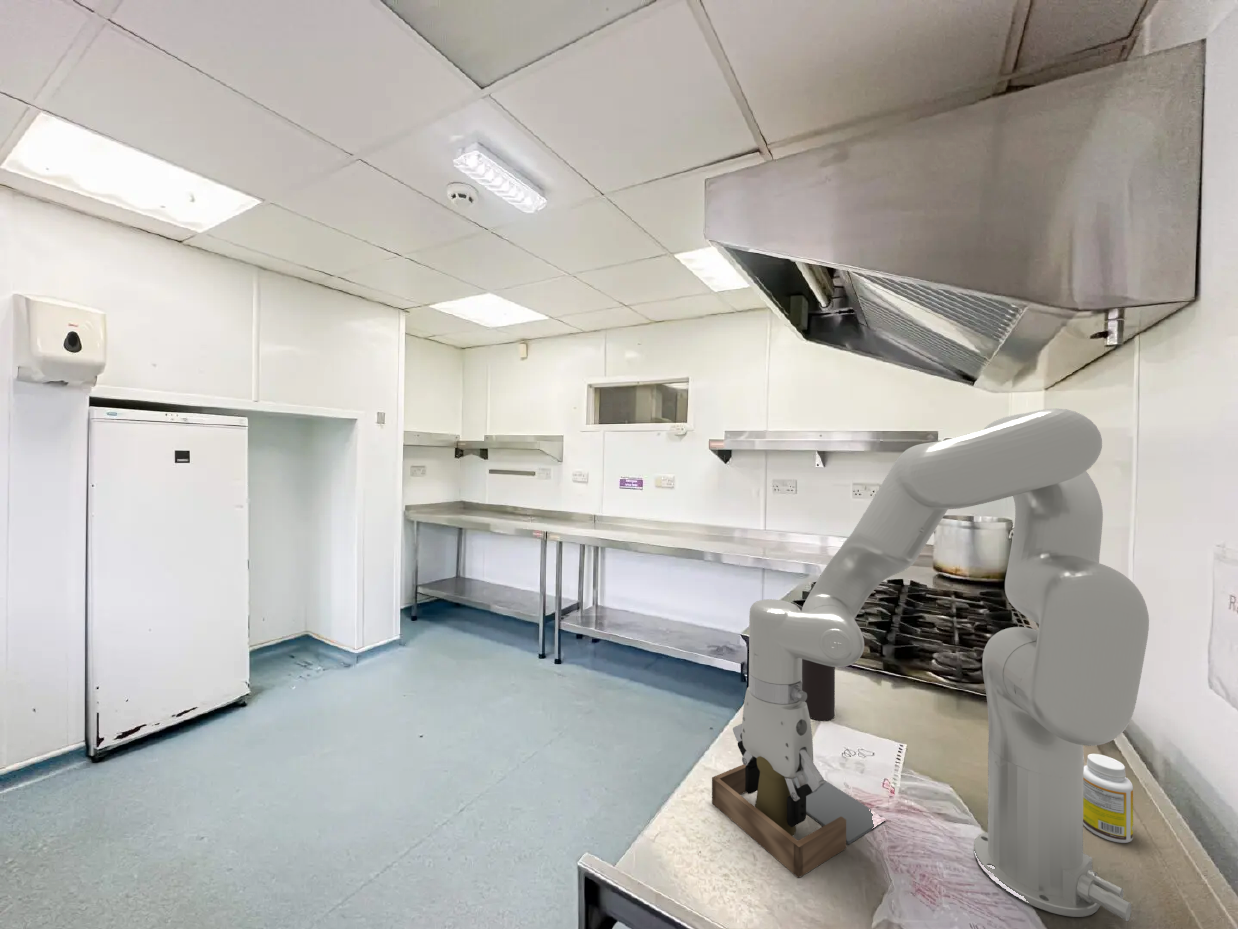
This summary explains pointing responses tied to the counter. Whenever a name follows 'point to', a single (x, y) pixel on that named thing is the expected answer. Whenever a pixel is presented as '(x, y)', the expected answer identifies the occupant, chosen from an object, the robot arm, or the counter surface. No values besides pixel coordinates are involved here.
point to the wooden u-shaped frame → (776, 827)
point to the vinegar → (819, 689)
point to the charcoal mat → (838, 810)
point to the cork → (773, 795)
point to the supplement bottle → (1107, 799)
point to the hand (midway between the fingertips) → (774, 805)
